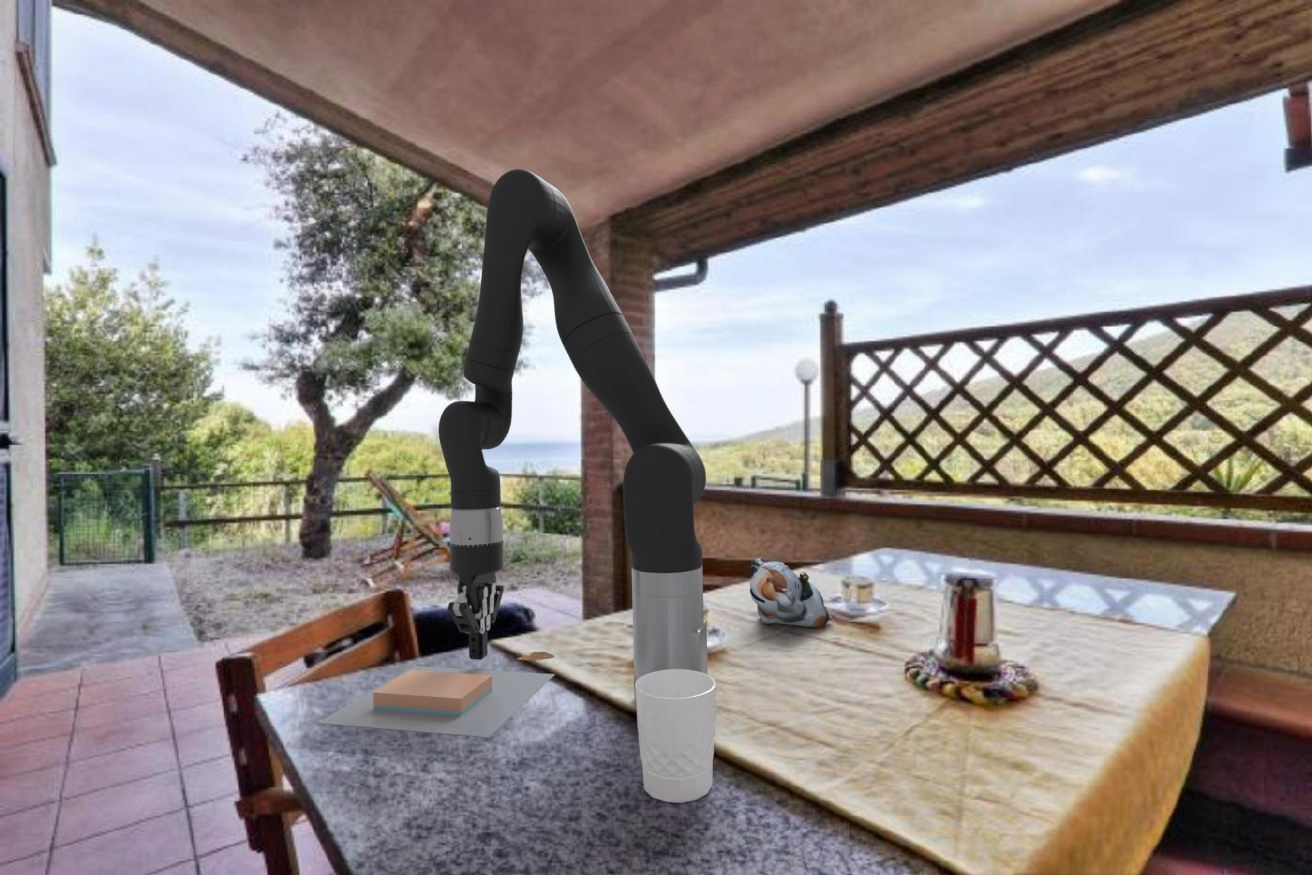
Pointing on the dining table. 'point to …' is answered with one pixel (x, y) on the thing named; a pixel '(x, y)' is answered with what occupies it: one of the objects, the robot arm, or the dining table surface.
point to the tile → (433, 692)
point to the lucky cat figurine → (786, 596)
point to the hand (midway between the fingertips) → (478, 657)
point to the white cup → (676, 733)
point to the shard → (537, 656)
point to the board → (477, 721)
